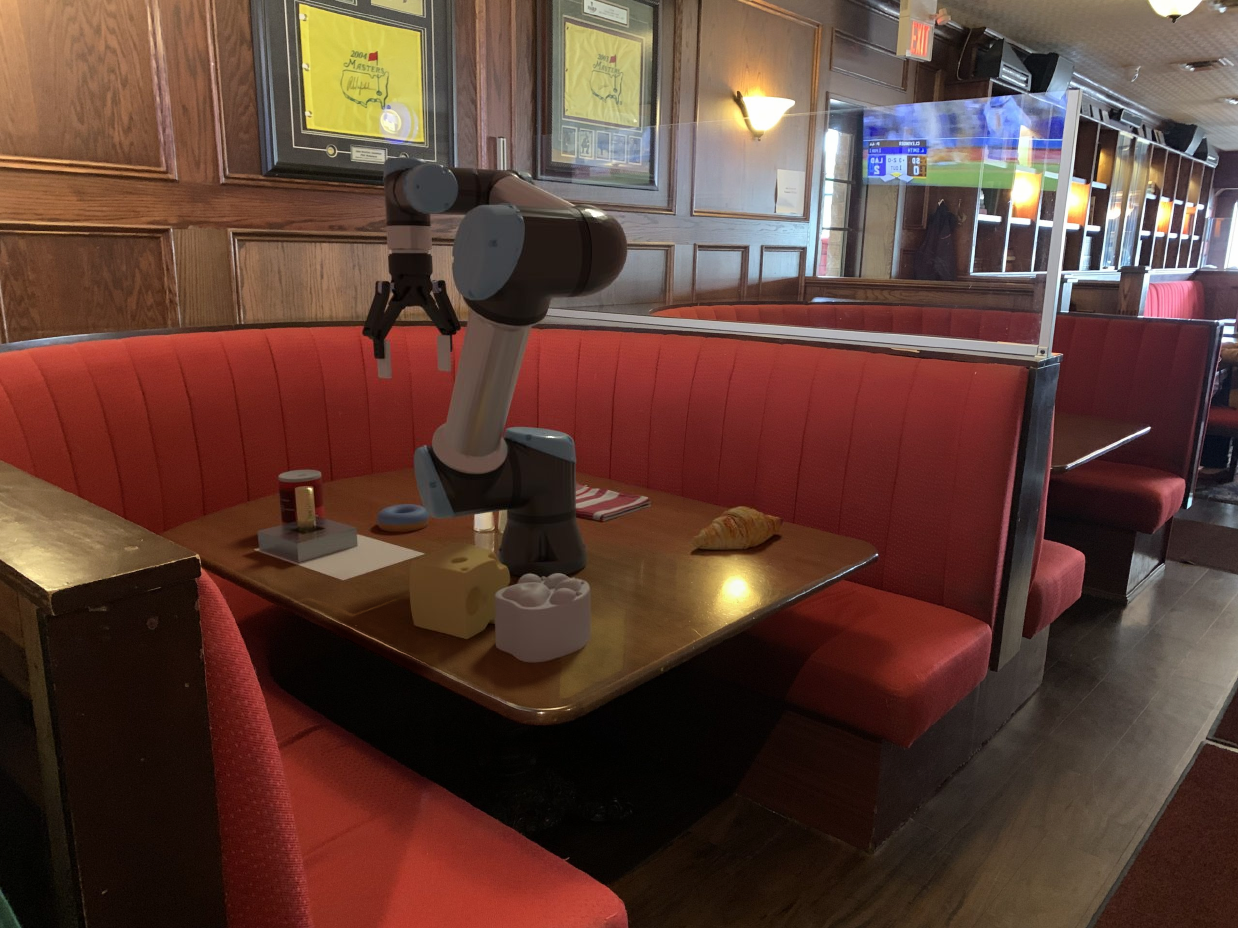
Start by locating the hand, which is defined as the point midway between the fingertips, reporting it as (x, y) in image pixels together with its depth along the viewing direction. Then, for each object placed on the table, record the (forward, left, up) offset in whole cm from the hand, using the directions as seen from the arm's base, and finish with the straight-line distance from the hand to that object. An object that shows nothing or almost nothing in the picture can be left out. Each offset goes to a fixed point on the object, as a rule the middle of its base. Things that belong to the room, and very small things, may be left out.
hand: (415, 374), depth 160 cm
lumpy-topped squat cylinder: (-49, +20, -31) cm, 62 cm away
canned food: (+23, +10, -31) cm, 40 cm away
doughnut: (+9, -3, -31) cm, 32 cm away
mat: (+5, +15, -31) cm, 35 cm away
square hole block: (+11, +17, -30) cm, 36 cm away
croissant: (-47, -34, -31) cm, 66 cm away
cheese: (-35, +23, -31) cm, 52 cm away
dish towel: (-8, -38, -31) cm, 50 cm away
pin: (+11, +17, -30) cm, 36 cm away
